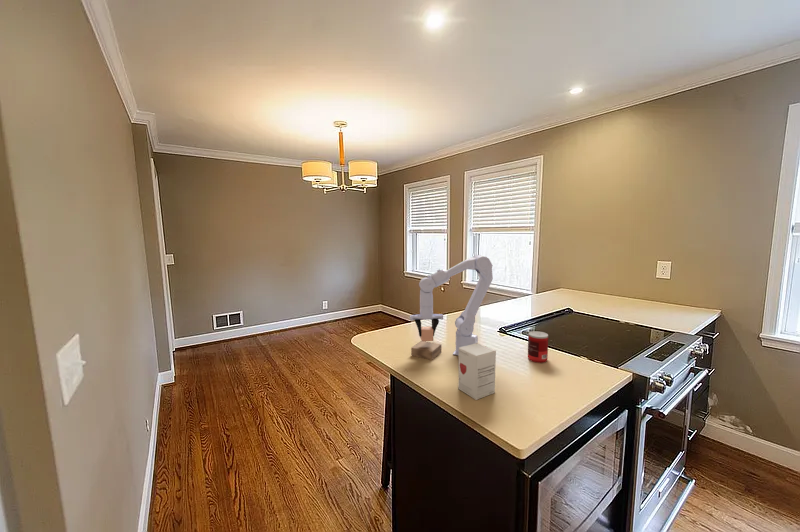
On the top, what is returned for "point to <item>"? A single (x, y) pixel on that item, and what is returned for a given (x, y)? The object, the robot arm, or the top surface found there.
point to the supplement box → (477, 370)
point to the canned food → (537, 346)
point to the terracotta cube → (427, 333)
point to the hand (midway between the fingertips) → (426, 335)
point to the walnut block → (426, 350)
